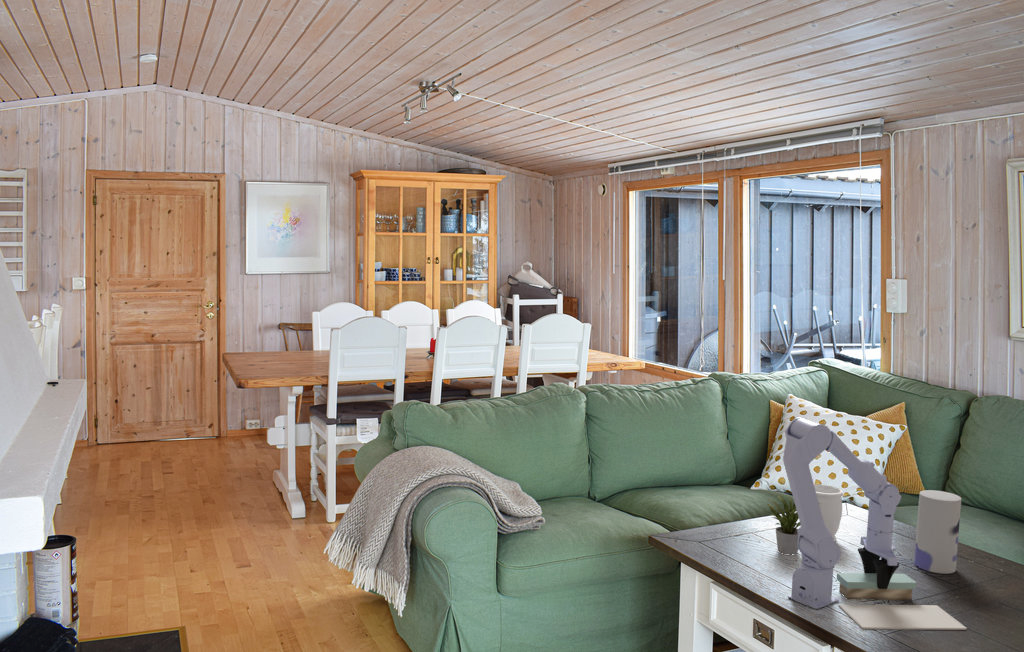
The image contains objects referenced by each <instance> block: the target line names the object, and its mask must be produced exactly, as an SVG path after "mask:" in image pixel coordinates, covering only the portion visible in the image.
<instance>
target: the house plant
mask: <svg viewBox="0 0 1024 652" xmlns="http://www.w3.org/2000/svg"><path fill="white" fill-rule="evenodd" d="M776 496H777V497H779V500H780V501H781V503H782V505H783V509H782V508H781V507H780V506H779V505H778V504H777V503H776V502H775V501H773V500H772V499H770V498H768V500H769V501H771V502H772V503H773V504H774V506H775V507H776V508H777V509H776V508H774V507H773V506H772V505H771V504H769V503H767V506H768V508H769V509H770V511H771V512H772V513H770V514H768V516H771V518H772V519H776V520H778V521H779V522H776V523H775V525H774V526H776V525H779V526H777V527H776V528H775V536H776V545H777V546H776V547H777V552H778V551H779V552H780V553H779V552H778V553H779V554H781V553H783V554H782V555H784V554H789V555H788V556H793V555H792V554H797V555H798V552H799V549H798V546H797V541H798V532H797V530H798V529H799V527H801V524H800V521H798V520H799V517H798V513H797V510H796V506H795V502H794V501H793V502H792V499H791V498H790V496H789V498H788V499H789V506H788V503H787V501H786V500H785V498H784V497H782V496H780V495H779V494H776ZM792 503H793V504H792ZM783 510H784V511H783Z"/></svg>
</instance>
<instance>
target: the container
mask: <svg viewBox="0 0 1024 652" xmlns="http://www.w3.org/2000/svg"><path fill="white" fill-rule="evenodd" d="M961 507H962V497H961V496H960V495H958V494H955V493H952V492H947V491H943V490H933V489H928V490H927V489H926V490H922V491H920V492H919V498H918V507H917V508H918V509H917V510H918V511H917V523H916V524H917V525H916V536H915V548H914V549H915V550H914V563H915V564H914V565H915V566H916V567H917V566H918V568H919V569H921V570H924V571H926V572H931V573H936V574H953V573H955V572H956V570H957V561H958V560H957V559H958V547H959V546H958V545H959V535H960V534H959V533H960V520H961Z"/></svg>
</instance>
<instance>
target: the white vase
mask: <svg viewBox="0 0 1024 652" xmlns="http://www.w3.org/2000/svg"><path fill="white" fill-rule="evenodd" d="M814 487H815V491H816V494H817V498H818V502H819V505H820V509H821V513H822V517H823V520H824V524H825V526H826V528H827V529H828V530H829V532H830V533H831V535H832V536H833V540H834V542H835V543H836V542H837V537H836V534H837V532H838V531H839V528H840V523H841V520H842V517H843V516H842V515H843V500H842V497H843V496H844V491H843V489H841V488H838V487H835V486H831V485H825V484H814Z"/></svg>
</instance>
